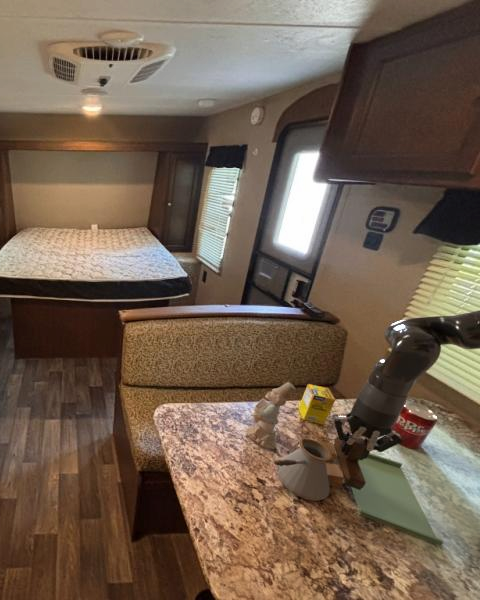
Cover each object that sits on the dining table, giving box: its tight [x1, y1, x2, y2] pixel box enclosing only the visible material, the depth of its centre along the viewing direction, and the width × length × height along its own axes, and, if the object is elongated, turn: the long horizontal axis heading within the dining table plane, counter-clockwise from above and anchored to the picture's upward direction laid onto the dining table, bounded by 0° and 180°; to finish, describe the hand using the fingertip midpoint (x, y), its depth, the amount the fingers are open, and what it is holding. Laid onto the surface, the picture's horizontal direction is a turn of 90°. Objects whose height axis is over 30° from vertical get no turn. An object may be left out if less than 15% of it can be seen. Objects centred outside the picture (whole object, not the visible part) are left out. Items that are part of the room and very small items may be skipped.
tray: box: [350, 452, 444, 546], centre depth 80 cm, size 14×22×2 cm, turn 154°
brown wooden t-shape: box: [333, 436, 366, 490], centre depth 80 cm, size 3×14×9 cm, turn 154°
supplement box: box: [298, 383, 336, 426], centre depth 101 cm, size 6×6×11 cm
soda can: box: [391, 403, 438, 451], centre depth 93 cm, size 7×7×12 cm
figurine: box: [245, 381, 297, 450], centre depth 91 cm, size 9×8×20 cm
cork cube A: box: [315, 439, 337, 464], centre depth 88 cm, size 4×4×4 cm
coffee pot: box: [267, 437, 332, 502], centre depth 76 cm, size 21×12×15 cm, turn 113°
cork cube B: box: [326, 462, 345, 489], centre depth 81 cm, size 4×4×4 cm
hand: (351, 454), depth 80 cm, fingers closed on brown wooden t-shape, 2 cm apart
